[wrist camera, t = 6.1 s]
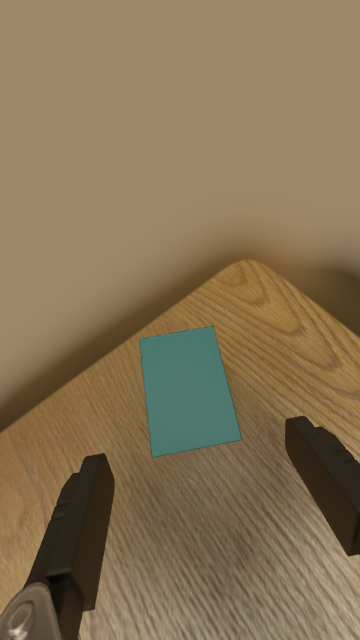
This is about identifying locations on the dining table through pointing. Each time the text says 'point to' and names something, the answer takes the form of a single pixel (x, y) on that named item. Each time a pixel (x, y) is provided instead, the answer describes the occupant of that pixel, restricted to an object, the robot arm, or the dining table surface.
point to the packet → (186, 392)
